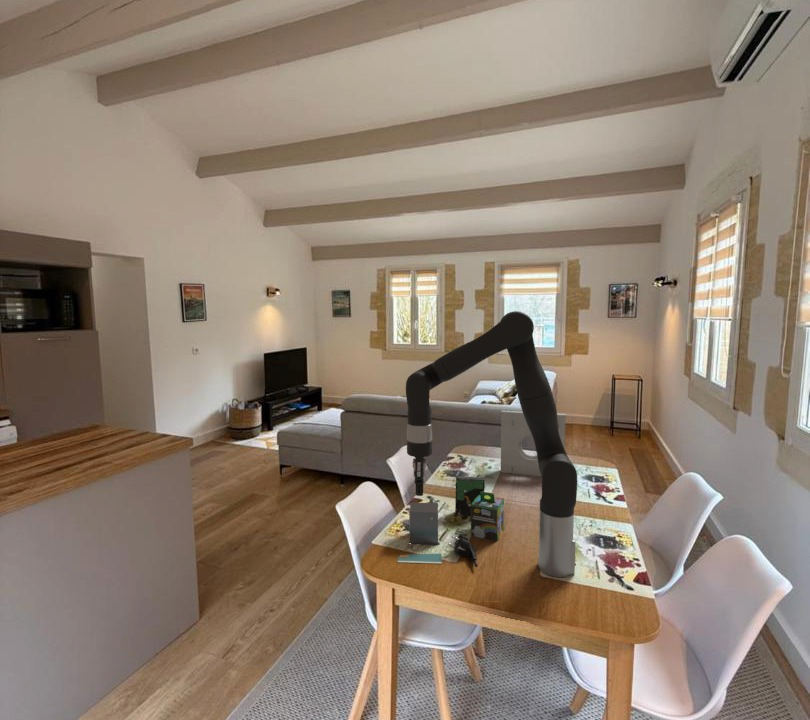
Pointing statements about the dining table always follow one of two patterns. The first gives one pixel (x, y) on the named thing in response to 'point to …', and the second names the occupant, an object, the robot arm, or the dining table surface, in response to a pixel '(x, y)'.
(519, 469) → the mounting panel
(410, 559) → the mat
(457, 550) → the power plug
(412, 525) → the unit
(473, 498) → the disk drive
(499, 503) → the chalk box
